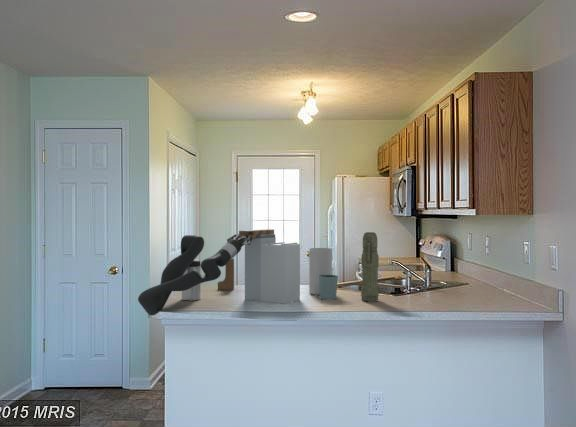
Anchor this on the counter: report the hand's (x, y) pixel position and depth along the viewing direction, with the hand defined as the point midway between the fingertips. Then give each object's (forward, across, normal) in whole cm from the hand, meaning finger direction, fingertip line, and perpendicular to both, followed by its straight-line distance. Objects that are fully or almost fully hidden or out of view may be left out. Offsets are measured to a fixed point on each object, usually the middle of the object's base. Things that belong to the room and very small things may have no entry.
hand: (248, 232), depth 288 cm
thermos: (+14, +51, -48) cm, 72 cm away
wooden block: (+6, -36, -44) cm, 57 cm away
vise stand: (-7, +7, -36) cm, 38 cm away
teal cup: (+10, +30, -46) cm, 55 cm away
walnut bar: (+5, 0, -7) cm, 9 cm away
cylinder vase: (+21, +18, -52) cm, 58 cm away
